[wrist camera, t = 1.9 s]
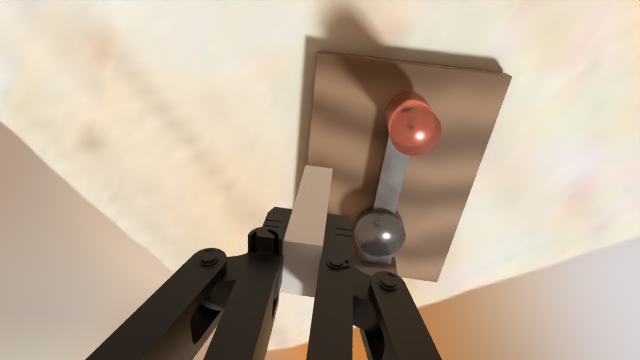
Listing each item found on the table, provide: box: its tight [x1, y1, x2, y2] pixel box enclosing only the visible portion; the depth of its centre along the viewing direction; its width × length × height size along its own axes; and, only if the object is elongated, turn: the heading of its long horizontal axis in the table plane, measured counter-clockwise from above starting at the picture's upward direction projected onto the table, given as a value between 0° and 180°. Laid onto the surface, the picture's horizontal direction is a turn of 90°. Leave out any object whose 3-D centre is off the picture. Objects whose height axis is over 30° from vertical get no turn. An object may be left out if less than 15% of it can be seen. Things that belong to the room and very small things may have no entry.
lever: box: [355, 91, 442, 264], centre depth 34 cm, size 20×6×7 cm, turn 175°
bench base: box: [307, 51, 512, 282], centre depth 35 cm, size 26×18×10 cm
